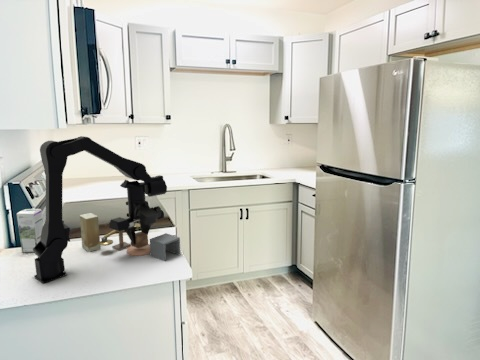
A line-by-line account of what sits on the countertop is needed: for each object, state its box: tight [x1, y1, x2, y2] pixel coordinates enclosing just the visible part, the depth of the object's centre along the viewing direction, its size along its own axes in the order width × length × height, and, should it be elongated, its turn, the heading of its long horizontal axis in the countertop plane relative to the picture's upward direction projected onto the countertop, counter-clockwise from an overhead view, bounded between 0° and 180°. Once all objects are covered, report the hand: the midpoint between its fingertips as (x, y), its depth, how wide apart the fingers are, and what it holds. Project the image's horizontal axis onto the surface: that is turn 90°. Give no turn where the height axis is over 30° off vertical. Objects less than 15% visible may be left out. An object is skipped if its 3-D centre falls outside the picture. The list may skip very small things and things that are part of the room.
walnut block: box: [130, 231, 149, 248], centre depth 120 cm, size 4×4×4 cm
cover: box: [149, 232, 181, 262], centre depth 116 cm, size 7×7×6 cm
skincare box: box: [79, 212, 101, 253], centre depth 122 cm, size 6×4×12 cm
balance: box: [99, 222, 141, 252], centre depth 123 cm, size 16×4×9 cm, turn 142°
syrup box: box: [16, 208, 44, 254], centre depth 121 cm, size 6×6×14 cm
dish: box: [126, 243, 151, 257], centre depth 120 cm, size 9×9×1 cm
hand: (139, 242), depth 120 cm, fingers closed on walnut block, 4 cm apart
